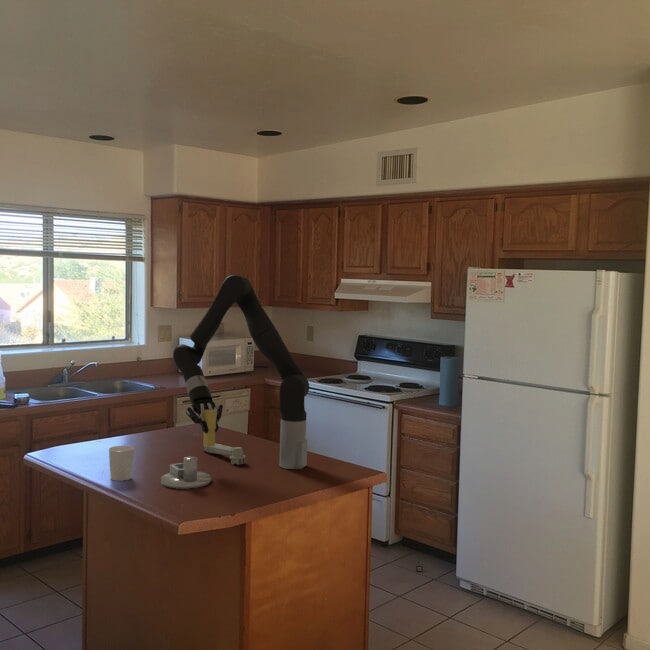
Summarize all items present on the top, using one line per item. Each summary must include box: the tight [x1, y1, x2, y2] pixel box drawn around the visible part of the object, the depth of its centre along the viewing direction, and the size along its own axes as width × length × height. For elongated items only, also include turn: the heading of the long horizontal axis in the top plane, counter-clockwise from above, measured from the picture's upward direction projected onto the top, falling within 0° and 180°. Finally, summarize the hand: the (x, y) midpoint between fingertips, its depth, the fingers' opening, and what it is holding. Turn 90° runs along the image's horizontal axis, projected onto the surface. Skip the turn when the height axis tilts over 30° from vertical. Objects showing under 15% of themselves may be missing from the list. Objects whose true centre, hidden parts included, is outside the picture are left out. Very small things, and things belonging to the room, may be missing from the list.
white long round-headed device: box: [202, 442, 246, 466], centre depth 260 cm, size 5×7×25 cm
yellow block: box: [202, 409, 217, 447], centre depth 240 cm, size 5×3×12 cm, turn 32°
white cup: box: [108, 445, 135, 482], centre depth 229 cm, size 8×8×10 cm
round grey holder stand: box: [160, 456, 212, 490], centre depth 228 cm, size 16×16×9 cm
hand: (211, 431), depth 238 cm, fingers closed on yellow block, 3 cm apart
